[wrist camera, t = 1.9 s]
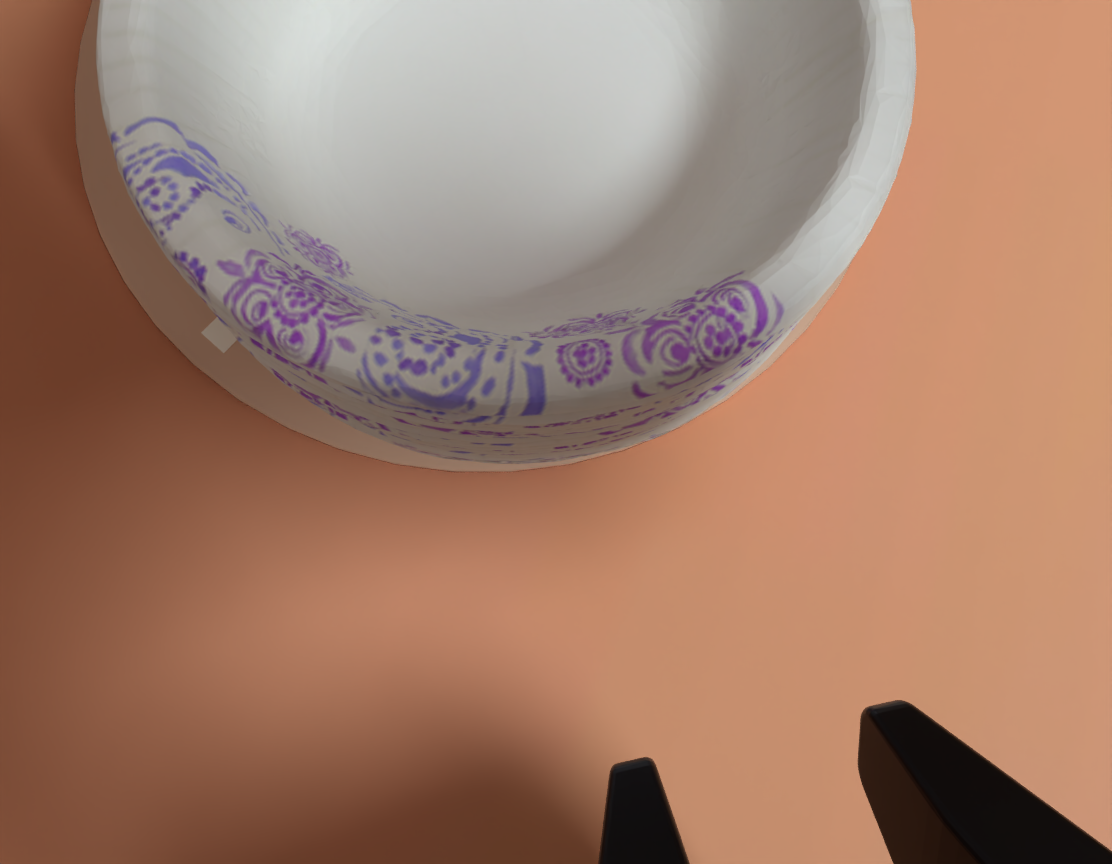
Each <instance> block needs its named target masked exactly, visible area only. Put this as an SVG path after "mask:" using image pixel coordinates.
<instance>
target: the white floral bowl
mask: <svg viewBox="0 0 1112 864" xmlns="http://www.w3.org/2000/svg"><path fill="white" fill-rule="evenodd" d="M96 65H97V75H98V86H99V92H100V99H101V105H102V113H103V118H104V121H105V125H106V128H107V133H108V136H109V138H110V141H111V144H112V147H113V151H114V156H115V159H116V161H117V166H118V171H119V172H120V174H121V176H122V178H123V181H124V184H125V186H126V189H127V192H128V194H129V196H130V198H131V200H132V202H133V203H134V205H135V207H136V209H137V211H138V213H139V214H140V216H141V218H142V219H143V221H144V223H145V224H146V226H147V228H148V229H149V230H150V232H151V233H152V235H153V237H154V238H155V240H156V242H157V243H158V245H159V247H160V248H161V250H162V251H163V253H164V254H165V256H166V257H167V259H168V260H169V261H170V262H171V263H172V265H173V266H174V267H175V269H176V270H177V271H178V272H179V273H180V274H181V276H182V277H183V278H184V279H185V280H186V282H187V283H188V284H189V285H190V286H191V287H192V289H193V290H194V291H195V292H196V293H197V294H198V295H199V296H200V297H201V298H202V299H203V300H204V301H205V303H206V304H207V305H208V307H209V308H210V309H211V310H212V311H213V313H214V314H215V315H216V316H217V317H218V318H219V320H220V321H221V322H222V324H223V325H224V326H225V327H226V328H227V329H228V330H229V331H230V332H231V333H232V334H233V335H234V336H235V338H236V339H237V340H238V341H239V342H240V343H241V344H242V345H243V346H244V347H245V348H246V349H247V350H248V351H249V352H250V353H251V354H252V355H253V356H254V357H255V358H256V359H257V360H258V361H259V362H260V363H261V364H262V365H263V366H264V367H266V368H267V369H268V370H269V371H270V372H271V373H272V374H273V375H274V376H276V377H277V378H278V379H279V380H280V381H281V382H282V383H284V384H285V385H287V386H288V387H289V388H291V389H292V390H294V391H295V392H297V393H298V394H300V395H301V396H302V397H304V398H305V399H307V400H308V401H310V402H311V403H312V404H314V405H315V406H317V407H318V408H320V409H321V410H323V411H325V412H326V413H328V414H329V415H331V416H333V417H335V418H336V419H338V420H340V421H342V422H344V423H346V424H348V425H350V426H351V427H353V428H355V429H356V430H359V431H361V432H363V433H366V434H368V435H371V436H373V437H376V438H378V439H381V440H383V441H385V442H388V443H390V444H394V445H397V446H399V447H402V448H405V449H409V450H412V451H415V452H418V453H422V454H426V455H430V456H434V457H439V458H443V459H451V460H461V461H473V462H481V463H497V464H526V463H544V462H555V461H562V460H567V459H573V458H578V457H583V456H588V455H592V454H597V453H602V452H607V451H612V450H617V449H620V448H624V447H627V446H631V445H634V444H637V443H640V442H644V441H648V440H651V439H654V438H656V437H659V436H661V435H663V434H665V433H668V432H670V431H671V430H673V429H675V428H677V427H679V426H680V425H682V424H684V423H687V422H689V421H690V420H692V419H693V418H694V417H696V416H697V415H699V414H701V413H702V412H703V411H705V410H706V409H707V408H709V407H710V406H712V405H713V404H715V403H716V402H718V401H720V400H722V399H723V398H725V397H726V396H727V395H728V394H729V393H731V392H732V391H733V390H734V389H735V388H736V387H737V386H739V385H740V384H741V383H742V382H743V381H745V380H746V379H747V378H748V377H749V376H750V375H751V374H752V373H753V372H754V371H755V370H757V369H758V368H759V367H760V366H761V365H762V364H763V363H764V362H765V361H766V360H767V359H768V358H769V357H770V356H771V354H772V353H773V352H774V351H775V350H776V349H777V348H778V346H779V345H780V344H781V343H782V342H783V340H784V339H785V338H786V337H787V336H788V335H789V333H790V332H791V331H792V330H793V329H794V328H795V326H796V325H797V323H798V322H799V321H800V320H801V319H802V318H803V317H804V316H805V314H806V313H807V312H808V311H809V310H810V309H811V308H812V307H813V306H814V305H815V304H816V303H817V301H818V300H819V299H820V298H821V297H822V295H823V294H824V293H825V292H826V291H827V289H828V288H829V287H830V286H831V285H832V284H833V282H834V281H835V280H836V278H837V277H838V276H839V275H840V274H841V273H842V272H843V271H844V269H845V268H846V267H847V266H848V264H849V263H850V261H851V260H852V259H853V257H854V256H855V254H856V253H857V251H858V250H859V249H860V247H861V246H862V244H863V243H864V241H865V239H866V237H867V235H868V234H869V232H870V231H871V229H872V227H873V225H874V223H875V221H876V219H877V218H878V216H879V214H880V212H881V210H882V208H883V205H884V203H885V201H886V199H887V197H888V194H889V192H890V189H891V187H892V184H893V182H894V180H895V178H896V176H897V170H898V168H899V165H900V162H901V160H902V156H903V152H904V148H905V144H906V140H907V136H908V133H909V128H910V125H911V122H912V110H913V103H914V93H915V79H916V51H915V31H914V24H913V18H912V10H911V1H910V0H100V4H99V11H98V26H97V39H96Z"/></svg>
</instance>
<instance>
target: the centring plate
mask: <svg viewBox="0 0 1112 864" xmlns="http://www.w3.org/2000/svg"><path fill="white" fill-rule="evenodd" d="M99 4H100V0H92V3H91V6H90V10H89V14H88V17H87V21H86V25H85V28H84V32H83V35H82V39H81V43H80V51H79V59H78V67H77V75H76V83H75V126H76V143H77V149H78V154H79V160H80V166H81V171H82V177H83V183H84V188H85V191H86V194H87V197H88V200H89V203H90V206H91V209H92V212H93V215H94V218H95V221H96V224H97V227H98V230H99V233H100V235H101V237H102V239H103V241H104V243H105V245H106V247H107V249H108V251H109V253H110V255H111V257H112V259H113V261H114V263H115V265H116V267H117V269H118V271H119V273H120V274H121V276H122V278H123V280H124V282H125V283H126V285H127V286H128V288H129V289H130V290H131V292H132V293H133V295H134V296H135V297H136V299H137V300H138V302H139V303H140V304H141V306H142V307H143V309H144V310H145V311H146V313H147V314H148V316H149V317H150V318H151V320H152V321H153V322H154V324H155V325H156V326H157V327H158V328H159V329H160V330H161V331H162V332H163V333H164V334H165V335H166V336H167V338H168V339H169V340H170V341H171V342H172V343H173V344H174V345H175V346H176V347H177V348H178V349H179V350H180V351H181V352H182V353H183V354H184V355H185V356H186V357H187V358H188V359H189V360H190V361H191V362H192V363H193V364H194V365H195V366H196V367H197V368H199V369H200V370H201V371H203V372H204V373H205V374H206V375H208V376H209V377H210V378H212V379H213V380H214V381H215V382H217V383H218V384H219V385H220V386H222V387H223V388H224V389H226V390H227V391H228V392H229V393H231V394H232V395H233V396H234V397H236V398H237V399H238V400H240V401H242V402H244V403H245V404H247V405H249V406H250V407H252V408H254V409H256V410H257V411H259V412H261V413H262V414H264V415H266V416H268V417H269V418H271V419H273V420H274V421H276V422H278V423H280V424H281V425H283V426H285V427H286V428H289V429H291V430H294V431H296V432H298V433H301V434H303V435H306V436H308V437H311V438H313V439H315V440H318V441H320V442H323V443H325V444H327V445H330V446H332V447H335V448H337V449H340V450H343V451H347V452H351V453H355V454H358V455H362V456H366V457H370V458H373V459H377V460H381V461H384V462H388V463H392V464H396V465H404V466H411V467H419V468H427V469H434V470H442V471H449V472H516V471H524V470H531V469H539V468H547V467H555V466H563V465H570V464H574V463H577V462H581V461H585V460H589V459H593V458H596V457H600V456H604V455H608V454H612V453H616V452H619V451H623V450H626V449H629V448H631V447H633V446H636V445H638V444H641V443H643V442H640V443H637V444H634V445H631V446H627V447H624V448H620V449H617V450H612V451H607V452H602V453H597V454H592V455H588V456H583V457H578V458H573V459H567V460H562V461H555V462H544V463H526V464H497V463H481V462H473V461H461V460H451V459H443V458H439V457H434V456H430V455H426V454H422V453H418V452H415V451H412V450H409V449H405V448H402V447H399V446H397V445H394V444H390V443H388V442H385V441H383V440H381V439H378V438H376V437H373V436H371V435H368V434H366V433H363V432H361V431H359V430H356V429H355V428H353V427H351V426H350V425H348V424H346V423H344V422H342V421H340V420H338V419H336V418H335V417H333V416H331V415H329V414H328V413H326V412H325V411H323V410H321V409H320V408H318V407H317V406H315V405H314V404H312V403H311V402H310V401H308V400H307V399H305V398H304V397H302V396H301V395H300V394H298V393H297V392H295V391H294V390H292V389H291V388H289V387H288V386H287V385H285V384H284V383H282V382H281V381H280V380H279V379H278V378H277V377H276V376H274V375H273V374H272V373H271V372H270V371H269V370H268V369H267V368H266V367H264V366H263V365H262V364H261V363H260V362H259V361H258V360H257V359H256V358H255V357H254V356H253V355H252V354H251V353H250V352H249V351H248V350H247V349H246V348H245V347H244V346H243V345H242V344H241V343H240V342H239V341H238V340H237V339H236V338H235V336H234V335H233V334H232V333H231V332H230V331H229V330H228V329H227V328H226V327H225V326H224V325H223V324H222V322H221V321H220V320H219V318H218V317H217V316H216V315H215V314H214V313H213V311H212V310H211V309H210V308H209V307H208V305H207V304H206V303H205V301H204V300H203V299H202V298H201V297H200V296H199V295H198V294H197V293H196V292H195V291H194V290H193V289H192V287H191V286H190V285H189V284H188V283H187V282H186V280H185V279H184V278H183V277H182V276H181V274H180V273H179V272H178V271H177V270H176V269H175V267H174V266H173V265H172V263H171V262H170V261H169V260H168V259H167V257H166V256H165V254H164V253H163V251H162V250H161V248H160V247H159V245H158V243H157V242H156V240H155V238H154V237H153V235H152V233H151V232H150V230H149V229H148V228H147V226H146V224H145V223H144V221H143V219H142V218H141V216H140V214H139V213H138V211H137V209H136V207H135V205H134V203H133V202H132V200H131V198H130V196H129V194H128V192H127V189H126V186H125V184H124V181H123V178H122V176H121V174H120V172H119V171H118V166H117V161H116V159H115V156H114V151H113V147H112V144H111V141H110V138H109V136H108V133H107V128H106V125H105V121H104V118H103V113H102V105H101V99H100V92H99V86H98V75H97V65H96V39H97V26H98V11H99ZM853 258H854V257H853ZM852 260H853V259H852ZM852 260H851V261H850V263H849V264H848V266H847V267H846V268H845V269H844V271H843V272H842V273H841V274H840V275H839V276H838V277H837V278H836V280H835V281H834V282H833V284H832V285H831V286H830V287H829V288H828V289H827V291H826V292H825V293H824V294H823V295H822V297H821V298H820V299H819V300H818V301H817V303H816V304H815V305H814V306H813V307H812V308H811V309H810V310H809V311H808V312H807V313H806V314H805V316H804V317H803V318H802V319H801V320H800V321H799V322H798V323H797V325H796V326H795V328H794V329H793V330H792V331H791V332H790V333H789V335H788V336H787V337H786V338H785V339H784V340H783V342H782V343H781V344H780V345H779V346H778V348H777V349H776V350H775V351H774V352H773V353H772V354H771V356H770V357H769V358H768V359H767V360H766V361H765V362H764V363H763V364H762V365H761V366H760V367H759V368H758V369H757V370H755V371H754V372H753V373H752V374H751V375H750V376H749V377H748V378H747V379H746V380H745V381H743V382H742V383H741V384H740V385H739V386H737V387H736V388H735V389H734V390H733V391H732V392H731V393H729V394H728V395H727V396H726V397H725V398H723V399H722V400H720V401H718V402H716V403H715V404H713V405H712V406H710V407H709V408H707V409H706V410H705V411H703V412H702V413H701V414H699V415H697V416H696V417H694V418H693V419H695V418H697V417H698V416H700V415H702V414H704V413H705V412H707V411H709V410H711V409H712V408H714V407H716V406H718V405H719V404H721V403H723V402H725V401H726V400H727V399H729V398H730V397H731V396H733V395H734V394H735V393H737V392H738V391H739V390H740V389H742V388H743V387H744V386H746V385H747V384H748V383H750V382H751V381H752V380H753V379H755V378H756V377H757V376H759V375H760V374H761V373H763V372H764V371H765V370H767V369H768V368H769V367H770V366H771V365H772V364H773V363H774V362H775V361H776V360H777V359H778V358H779V357H780V356H781V355H782V354H783V353H784V352H785V351H786V350H787V349H788V348H789V347H790V346H791V345H792V344H793V343H794V342H795V340H796V339H797V338H798V337H799V336H800V335H801V334H802V333H803V332H804V331H805V330H806V329H807V328H808V327H809V325H810V324H811V323H812V321H813V320H814V319H815V317H816V316H817V314H818V313H819V312H820V310H821V309H822V308H823V306H824V305H825V304H826V302H827V301H828V300H829V298H830V297H831V296H832V294H833V293H834V292H835V290H836V289H837V287H838V286H839V284H840V282H841V280H842V279H843V277H844V275H845V273H846V271H847V269H848V267H849V266H850V264H851V262H852ZM693 419H692V420H693ZM690 421H691V420H690ZM690 421H689V422H690ZM687 423H688V422H687ZM684 424H686V423H684ZM684 424H682V425H680V426H679V427H681V426H683V425H684ZM679 427H677V428H679ZM677 428H675V429H677ZM675 429H673V430H675ZM673 430H671V431H673ZM644 442H646V441H644Z"/></svg>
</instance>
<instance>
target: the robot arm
mask: <svg viewBox="0 0 1112 864" xmlns="http://www.w3.org/2000/svg"><path fill="white" fill-rule="evenodd" d="M858 770H859V775H860V779H861V782H862V785H863V788H864V791H865V793H866V796H867V798H868V801H869V803H870V806H871V808H872V811H873V813H874V816H875V818H876V821H877V823H878V826H879V828H880V831H881V833H882V836H883V839H884V841H885V844H886V846H887V849H888V851H889V854H890V856H891V859H892V861H893V864H1112V851H1111V850H1109V849H1108V848H1107V847H1105V846H1104V845H1103V844H1101V843H1100V842H1098V841H1097V840H1096V839H1094V838H1093V837H1092V836H1090V835H1089V834H1088V833H1086V832H1085V831H1083V830H1082V829H1081V828H1079V827H1078V826H1077V825H1075V824H1074V823H1073V822H1071V821H1070V820H1069V819H1067V818H1066V817H1064V816H1063V815H1062V814H1060V813H1059V812H1058V811H1056V810H1055V809H1054V808H1052V807H1051V806H1050V805H1048V804H1047V803H1045V802H1044V801H1043V800H1041V799H1040V798H1039V797H1037V796H1036V795H1035V794H1033V793H1032V792H1030V791H1029V790H1028V789H1026V788H1025V787H1024V786H1022V785H1021V784H1020V783H1018V782H1017V781H1016V780H1014V779H1013V778H1011V777H1010V776H1009V775H1007V774H1006V773H1005V772H1003V771H1002V770H1001V769H999V768H998V767H997V766H995V765H994V764H992V763H991V762H990V761H988V760H987V759H986V758H984V757H983V756H982V755H980V754H979V753H977V752H976V751H975V750H973V749H972V748H971V747H969V746H968V745H967V744H965V743H964V742H963V741H961V740H960V739H958V738H957V737H956V736H954V735H953V734H952V733H950V732H949V731H948V730H946V729H945V728H944V727H942V726H941V725H939V724H938V723H937V722H935V721H934V720H933V719H931V718H930V717H929V716H927V715H926V714H924V713H923V712H922V711H920V710H919V709H918V708H916V707H915V706H914V705H912V704H910V703H908V702H906V701H902V700H895V701H891V702H886V703H882V704H878V705H873V706H869V707H867V708H865V709H864V710H863V712H862V714H861V719H860V734H859V749H858ZM598 864H689V860H688V857H687V854H686V852H685V849H684V846H683V843H682V840H681V837H680V834H679V831H678V828H677V825H676V822H675V819H674V817H673V814H672V811H671V808H670V805H669V802H668V799H667V796H666V793H665V790H664V787H663V785H662V782H661V779H660V776H659V773H658V770H657V767H656V765H655V763H654V761H653V760H652V759H651V758H648V757H643V758H639V759H634V760H630V761H625V762H621V763H617V764H615V765H613V766H612V768H611V770H610V775H609V782H608V790H607V798H606V806H605V814H604V822H603V830H602V838H601V846H600V854H599V862H598Z"/></svg>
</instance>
